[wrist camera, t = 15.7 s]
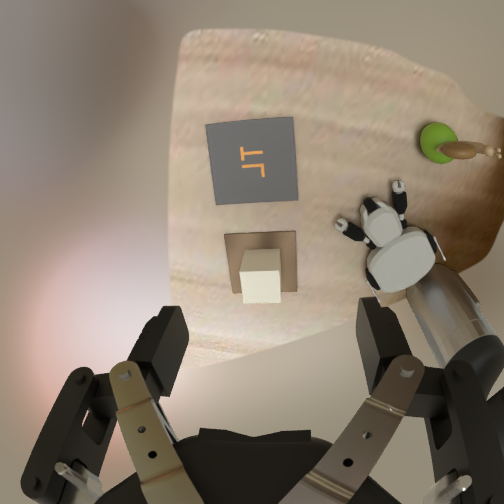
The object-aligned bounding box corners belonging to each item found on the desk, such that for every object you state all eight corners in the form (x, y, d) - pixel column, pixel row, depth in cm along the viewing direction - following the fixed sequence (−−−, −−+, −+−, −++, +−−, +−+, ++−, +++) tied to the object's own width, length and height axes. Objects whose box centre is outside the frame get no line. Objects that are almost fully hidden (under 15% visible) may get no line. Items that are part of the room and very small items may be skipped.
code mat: (292, 116, 34) (292, 117, 34) (297, 199, 39) (297, 200, 39) (205, 124, 35) (205, 124, 35) (216, 204, 40) (216, 205, 40)
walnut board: (295, 230, 41) (295, 231, 41) (297, 290, 46) (297, 291, 45) (224, 234, 42) (223, 235, 42) (233, 292, 47) (232, 293, 47)
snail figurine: (453, 155, 33) (503, 177, 22) (417, 162, 34) (462, 186, 24) (447, 118, 31) (499, 128, 20) (410, 123, 32) (456, 134, 22)
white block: (279, 248, 42) (279, 270, 37) (281, 278, 45) (280, 302, 39) (244, 249, 43) (239, 271, 38) (248, 279, 45) (243, 303, 40)
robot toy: (326, 217, 41) (375, 292, 44) (329, 228, 37) (381, 308, 40) (396, 170, 36) (437, 252, 40) (407, 176, 32) (449, 264, 36)
